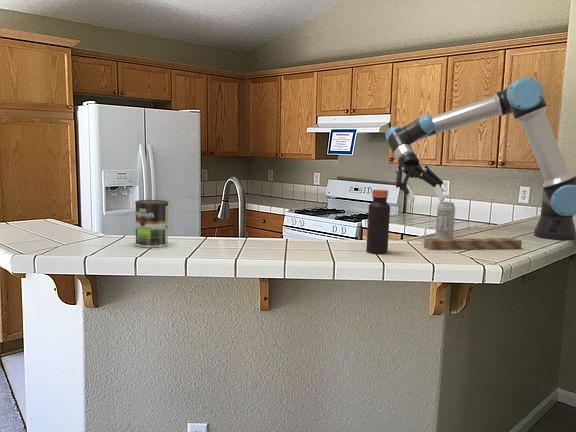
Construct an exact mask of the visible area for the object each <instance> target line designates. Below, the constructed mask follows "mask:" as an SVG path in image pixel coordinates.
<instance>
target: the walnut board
mask: <svg viewBox="0 0 576 432" xmlns="http://www.w3.org/2000/svg"><path fill="white" fill-rule="evenodd" d="M522 242H523V241H522V240H520V239H517V238H514V237H503V238H502V237H483V238H481V237H480V238H478V237H477V238H476V237H475V238H473V237H470V238H469V237H467V238H464V237H463V238H462V237H460V238H459V237H457V238H454V237H453V238H430V237H429V238H424V241H423V248H425V249H428V250H430V251H455V250H456V251H457V250H458V251H463V250H462V249H490V250H521V249H522V244H523V243H522Z"/></svg>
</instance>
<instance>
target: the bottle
mask: <svg viewBox="0 0 576 432" xmlns="http://www.w3.org/2000/svg"><path fill="white" fill-rule="evenodd" d="M371 195H372V201H371V203H370V204H369V205H368V213H367V214H368V215H367V231H366V232H367V233H366V249H365V250H366V252H367V253H369V254H374V255H375V254H376V255H384V254H385V255H386V254H388V253H389V252H388V249H389V231H390V217H391V214H390V213H391V205H390V204H389V203H388V202H387V200H388V199H389V198H388V197H389V196H388V195H389V190H387V189H372V193H371Z"/></svg>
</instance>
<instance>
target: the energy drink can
mask: <svg viewBox="0 0 576 432" xmlns="http://www.w3.org/2000/svg"><path fill="white" fill-rule="evenodd" d="M436 209H437V211H436V224H435V225H436V226H435V235H434V237H435V238H454V229H455V217H456V216H455V215H456V206H455V203H454V202H452V201H443V202H440V201H439V204H438V205H437V208H436Z"/></svg>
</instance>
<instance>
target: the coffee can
mask: <svg viewBox="0 0 576 432" xmlns="http://www.w3.org/2000/svg"><path fill="white" fill-rule="evenodd" d="M134 203H135V246H136V247H138V248H147V249H149V248H151V249H152V248H153V249H154V248H155V249H156V248H163V247H167V246H168V244H169V242H168V241H169V201H167V200H162V199H139V200H136V201H135V202H134Z"/></svg>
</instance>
